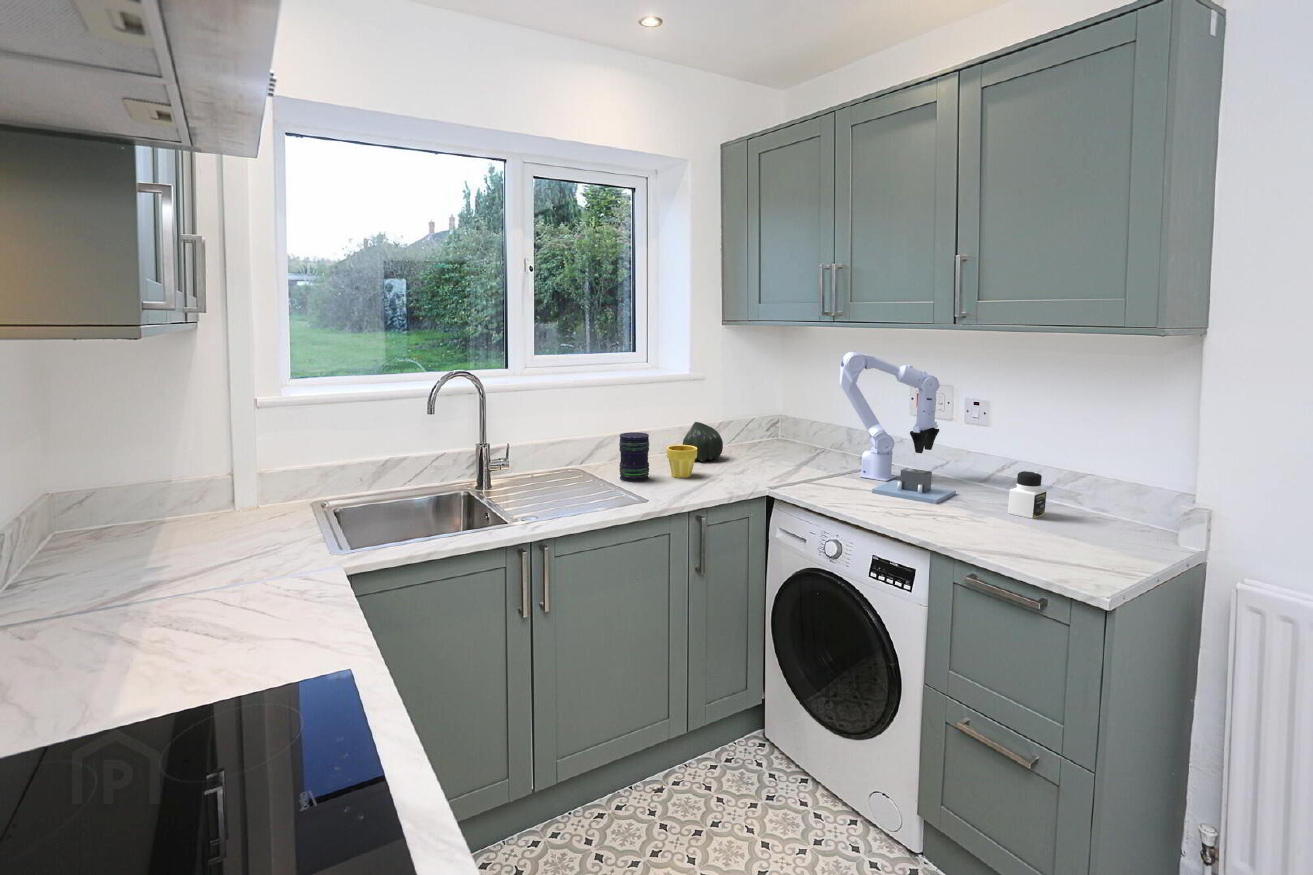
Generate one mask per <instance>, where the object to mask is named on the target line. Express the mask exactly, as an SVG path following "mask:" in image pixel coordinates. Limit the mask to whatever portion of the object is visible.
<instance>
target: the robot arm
mask: <svg viewBox="0 0 1313 875" xmlns="http://www.w3.org/2000/svg"><path fill="white" fill-rule="evenodd" d="M839 364H840V366H839V367H840V368H839V369H840V371H839V372H840V373H839V385H840V387H841V389H842V390H843V392H844V394H845V396H846V397H847V398H848V400H849V402H850V404H851V406H852V408H853V409H854V411H855V412H856V414H857V415H858V417H859V419H860V421H861V423H862V424H863V426H864V428H865V430H866V432H867V434H868V436H869V443H870V444H871V446H872V447H871V448H870V449H867V450H864V452H863V453H862V456H861V467H860V470H861V471H860V475H859V477H860V478H863V479H864V478H865V479H869V480H870V479H871V480H877V481H881V482H887V481H890V480H892V479H893V480H894V479H895V478H896V477H897V476H896V475H892V471H893V470H892V469H893V468H892V467H893V466H892V465H893V449H894V447H895V440H894V437H892V436H891V435H889V434H888V433H887V432H886V430H885V428H883V426H882V425H881V423H880V422H879V420H878V418H877V416H876V414H875V413H874V411H873V409H872V408H871V406H870V405H869V403H868V402H867V399H866V398H865V396H864V395H863V393H862V391H861V389H860V388H859V386H858V384H857V382H858V380H859V376H860V374H861V373H862V372H863V371H864V370H870V369H876V370H879V371H881V372H884V373H887V374H890V375H893V376H895V378H896V380H897V382H899V383H902V384H903V385H907V386H909V387H912V388H915V389H918V396H917V404H916V405H917V408H916V421H915V424H914V426H913V427H912V428H913V429H912V430H910V431H909V436H910V437H911V439H912V442H913V445H914V452H915V453H916V454H923V452H924V450H928V451H931V450H932V449H933V448H934V443H935V440H936V438H937V436H938V435H939V434H938V433H939V432H940V429H939V428H938V427H939V425H938V424H937V421H936V420H935V419H936V407H937V406H936V405H937V391H938V390H939V388H940V386H941V384H940V382H939V380H938V378H937V377H936V376H934V375H932V374H929V373H928V372H927V371H925V370H922V371H921V370H919V369H916V368H914V366H913V365H911V364H908V365H906V364H904V365H902V366H898V365H895V364H893V363H890V362H888V361H886V360H884V359H880V358H879V357H875V356H874V355H870V354H865V353H861V352H856V351H848V352H846V353H845V354H844V355H843V356H842V359H841V361H840V363H839Z"/></svg>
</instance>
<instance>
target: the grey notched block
mask: <svg viewBox="0 0 1313 875" xmlns="http://www.w3.org/2000/svg"><path fill="white" fill-rule="evenodd" d="M899 477H900V478H899V481H901V482H902V490H908V491H914V492H918V485H922V493H927V492H929V491H931V486H932V477H933V471H931V470H922V469H917V468H910V467H906V468H903V469H901V470H900V476H899Z"/></svg>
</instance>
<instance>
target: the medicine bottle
mask: <svg viewBox="0 0 1313 875" xmlns="http://www.w3.org/2000/svg"><path fill="white" fill-rule="evenodd" d="M1042 479H1043V478H1042V474H1040V473H1039V472H1036V471H1029V470H1024V471H1020V472H1018V473H1017V477H1016V487H1014V488H1011V489H1009V495H1008V506H1007V507H1008V508H1007V514H1008V515H1013V516H1018V517H1023V518H1026V519H1032V520H1033V519H1037V518H1040V517H1042V516H1044V515H1045V513H1046V503H1047V502H1046V500H1047V489H1041V488H1042Z"/></svg>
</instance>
